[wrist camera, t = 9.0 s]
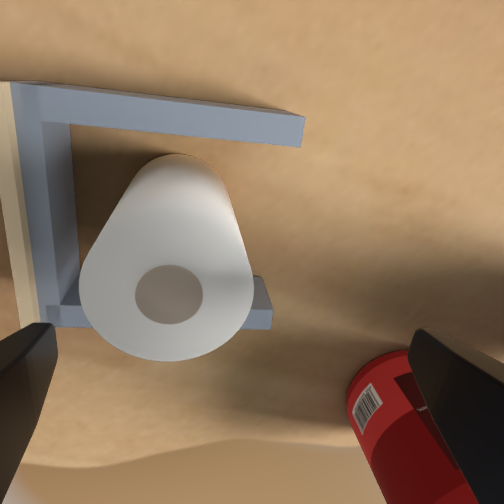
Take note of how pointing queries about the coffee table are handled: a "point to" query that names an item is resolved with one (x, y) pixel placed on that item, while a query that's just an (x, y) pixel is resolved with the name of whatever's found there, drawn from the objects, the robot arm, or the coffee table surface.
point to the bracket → (62, 180)
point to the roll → (169, 265)
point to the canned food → (402, 436)
